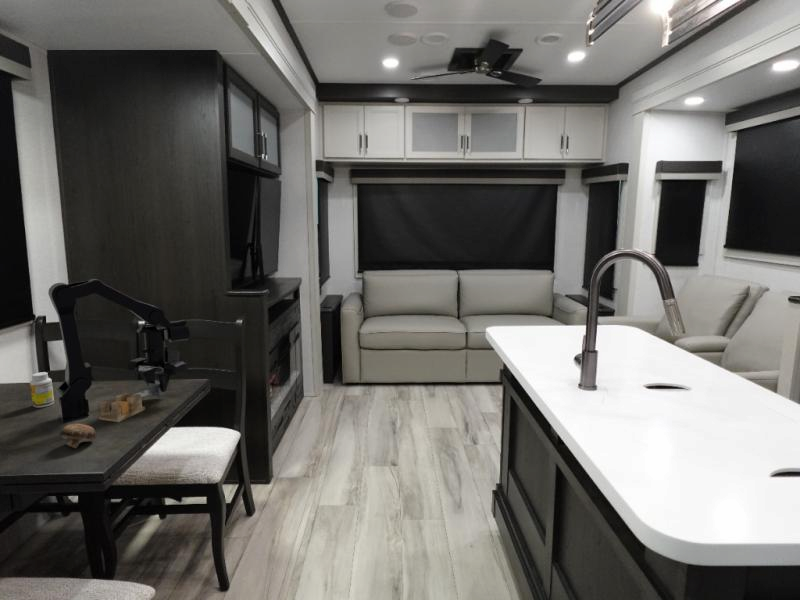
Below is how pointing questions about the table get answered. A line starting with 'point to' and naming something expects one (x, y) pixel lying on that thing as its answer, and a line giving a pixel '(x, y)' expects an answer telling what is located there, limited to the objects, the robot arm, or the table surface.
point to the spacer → (123, 406)
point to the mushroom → (77, 434)
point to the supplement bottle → (41, 390)
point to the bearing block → (115, 414)
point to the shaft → (152, 390)
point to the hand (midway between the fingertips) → (158, 391)
